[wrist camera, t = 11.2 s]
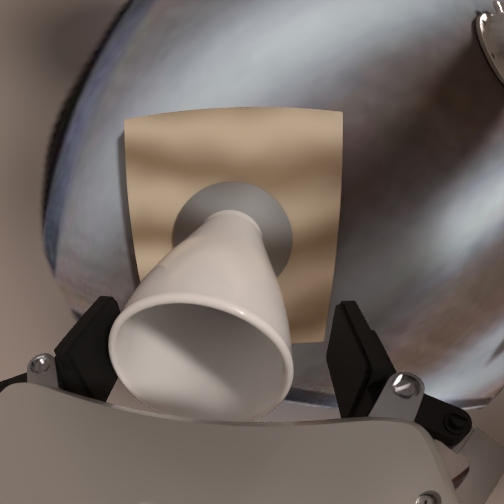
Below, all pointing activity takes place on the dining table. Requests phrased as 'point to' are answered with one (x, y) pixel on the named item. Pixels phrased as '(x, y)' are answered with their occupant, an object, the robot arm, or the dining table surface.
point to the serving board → (244, 192)
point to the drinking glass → (207, 327)
